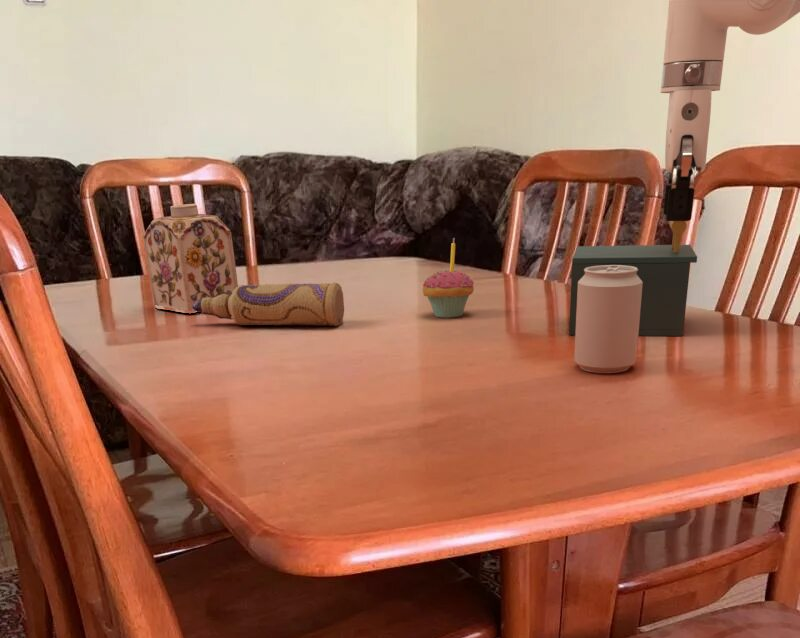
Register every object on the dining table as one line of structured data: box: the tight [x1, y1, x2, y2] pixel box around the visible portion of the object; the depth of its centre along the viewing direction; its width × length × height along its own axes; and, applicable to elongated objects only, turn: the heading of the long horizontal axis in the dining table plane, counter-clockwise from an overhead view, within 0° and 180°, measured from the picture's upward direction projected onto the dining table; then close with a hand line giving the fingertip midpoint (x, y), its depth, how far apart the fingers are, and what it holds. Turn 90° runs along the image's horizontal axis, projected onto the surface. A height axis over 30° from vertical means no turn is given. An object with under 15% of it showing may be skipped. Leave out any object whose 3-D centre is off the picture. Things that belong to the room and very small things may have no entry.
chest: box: [568, 263, 691, 337], centre depth 122 cm, size 16×14×10 cm
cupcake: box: [422, 237, 475, 319], centre depth 135 cm, size 9×8×12 cm
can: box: [573, 265, 643, 374], centre depth 100 cm, size 8×8×12 cm
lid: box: [571, 221, 698, 265], centre depth 119 cm, size 17×14×5 cm
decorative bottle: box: [192, 282, 345, 327], centre depth 135 cm, size 26×8×7 cm, turn 76°
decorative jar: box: [142, 203, 239, 311], centre depth 151 cm, size 12×12×18 cm
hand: (676, 217), depth 116 cm, fingers open, 9 cm apart
